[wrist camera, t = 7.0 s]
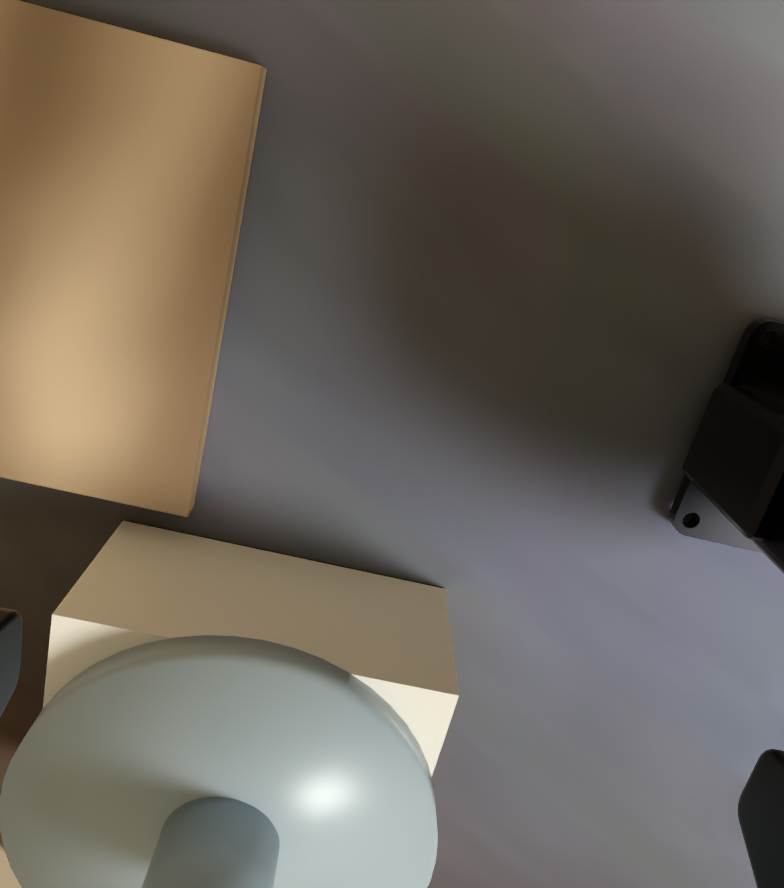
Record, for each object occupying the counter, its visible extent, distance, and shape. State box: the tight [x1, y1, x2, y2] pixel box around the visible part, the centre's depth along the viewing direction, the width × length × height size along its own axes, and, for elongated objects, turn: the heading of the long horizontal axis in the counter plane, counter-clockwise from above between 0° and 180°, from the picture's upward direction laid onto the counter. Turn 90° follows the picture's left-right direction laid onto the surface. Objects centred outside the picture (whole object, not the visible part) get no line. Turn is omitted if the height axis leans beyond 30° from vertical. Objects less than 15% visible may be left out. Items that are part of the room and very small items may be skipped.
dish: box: [43, 521, 459, 777], centre depth 22 cm, size 10×10×5 cm
